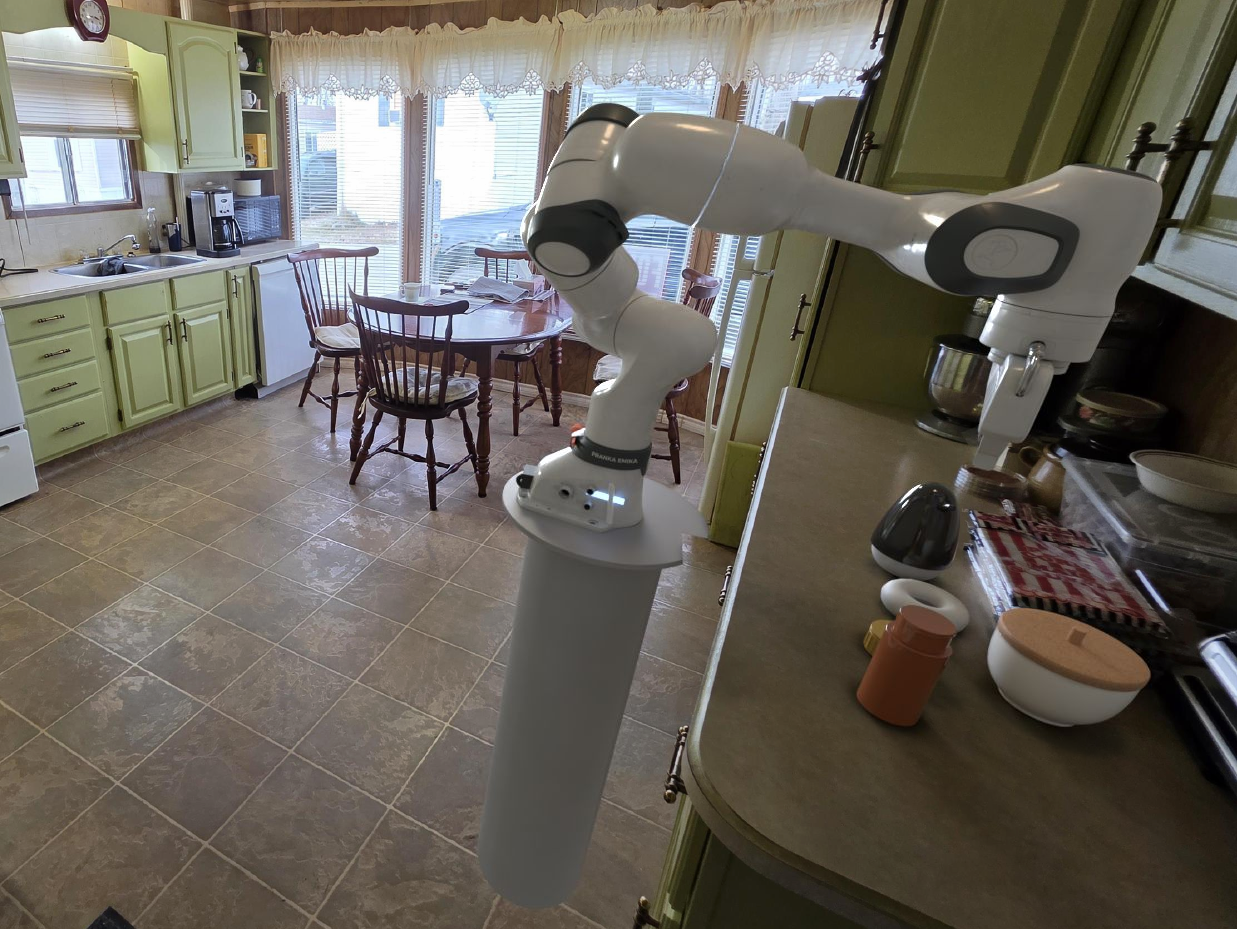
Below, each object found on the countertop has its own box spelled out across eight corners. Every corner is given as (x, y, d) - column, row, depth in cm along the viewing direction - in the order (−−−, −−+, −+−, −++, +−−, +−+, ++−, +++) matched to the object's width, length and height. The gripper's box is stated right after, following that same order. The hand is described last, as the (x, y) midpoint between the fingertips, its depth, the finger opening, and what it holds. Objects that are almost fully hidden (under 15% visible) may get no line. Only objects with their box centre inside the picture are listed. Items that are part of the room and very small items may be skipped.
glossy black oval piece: (877, 583, 101) (914, 494, 95) (853, 546, 110) (886, 464, 104) (955, 597, 99) (999, 507, 93) (924, 559, 108) (962, 475, 102)
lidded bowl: (992, 652, 88) (1029, 582, 84) (1124, 718, 78) (1174, 643, 74) (952, 687, 82) (990, 614, 77) (1091, 764, 72) (1143, 686, 68)
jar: (868, 719, 76) (909, 631, 71) (848, 682, 82) (884, 597, 77) (928, 731, 75) (974, 642, 70) (903, 692, 81) (944, 607, 75)
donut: (953, 607, 97) (872, 584, 101) (964, 588, 95) (881, 565, 99) (971, 649, 89) (881, 622, 93) (982, 629, 87) (891, 602, 91)
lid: (933, 672, 84) (942, 654, 83) (883, 669, 84) (891, 651, 83) (899, 638, 90) (907, 620, 89) (852, 635, 90) (859, 618, 89)
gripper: (1086, 361, 61) (1019, 495, 66) (1076, 325, 75) (1021, 438, 80) (996, 345, 64) (940, 473, 70) (1003, 314, 79) (956, 422, 84)
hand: (984, 454), depth 75 cm, fingers open, 8 cm apart
